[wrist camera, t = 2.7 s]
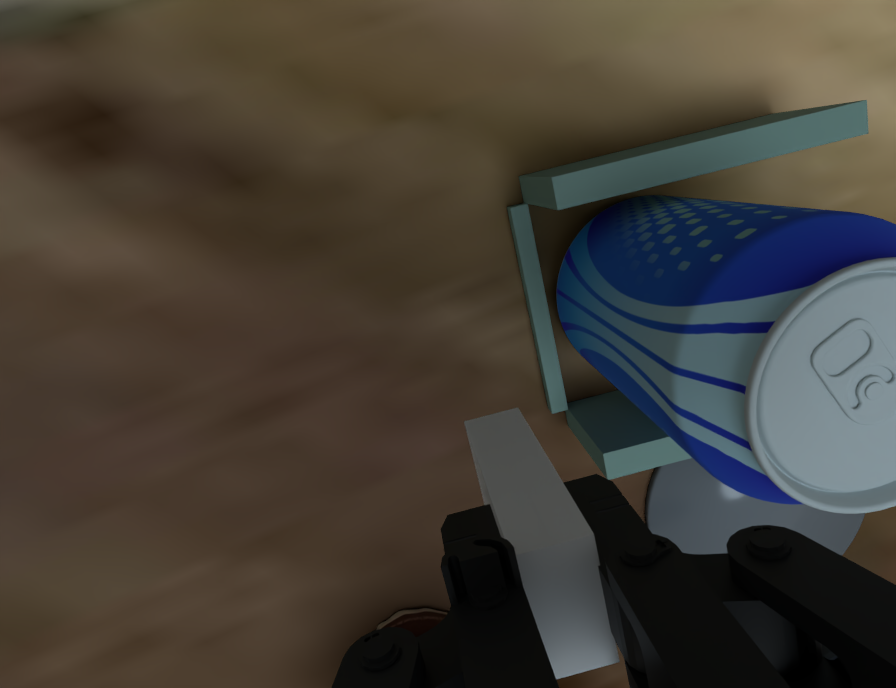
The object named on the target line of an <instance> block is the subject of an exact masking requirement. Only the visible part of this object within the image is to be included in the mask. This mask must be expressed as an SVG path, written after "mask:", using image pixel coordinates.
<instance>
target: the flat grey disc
mask: <svg viewBox="0 0 896 688" xmlns="http://www.w3.org/2000/svg"><path fill="white" fill-rule="evenodd" d="M864 515H865V513H859V514H844V513H834V512H828V511H823V510H819V509H816V508H813V507H810V506H808V505H805V504H793V505H791V504H779V503H773V502H768V501H763V500H760V499H756V498H753V497H749V496H747V495H744V494H742V493H740V492H737V491H735V490H734V489H732V488H730V487H728V486H726V485H725V484H723V483H722V482H720V481H719V480H717V479H716V478H715V477H713V476H712V475H711V474H710V473H709V472H707V471H706V470H705V469H704V468H703V467H702V466H701V465H700V464H699V463H697V462H696V461H695V460H694V459H693V458H690V459H686V460H682V461H678V462H675V463H671V464H667V465H663V466H659V467H656V468H655V470H654V472H653V474H652V477H651V480H650V483H649V486H648V491H647V496H646V503H645V521H646V526H647V527H648V528H649V530H650V531H651V532H652V534H656V535H659V536H662V537H665V538H668V539H669V540H671V541H672V542H673V543H675V544H676V545H677V546H678V548H679V549H680V550H681V551H682V553H688V554H721V553H727V546H726V544H727V542H728V540H729V538H730V536H731V535H733V534H734V533H736V532H737V531H739V530H741V529H744V528H747V527H751V526H757V525H773V526H780V527H786V528H788V529H791V530H793V531H796V532H799V533H800V534H802V535H804V536H806V537H808V538H810V539H812V540H813V541H815V542H817V543H819V544H821V545H823V546H824V547H826V548H828V549H830V550H832V551H834V552H836V553H837V554H839V555H841V556H842V555H843V554H844V552H845V551H846V549H847V548H848V547H849V545H850V544H851V542H852V541H853V539H854V537H855V535H856V533H857V532H858V530H859V528H860V525H861V523H862V520H863V518H864Z"/></svg>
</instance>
